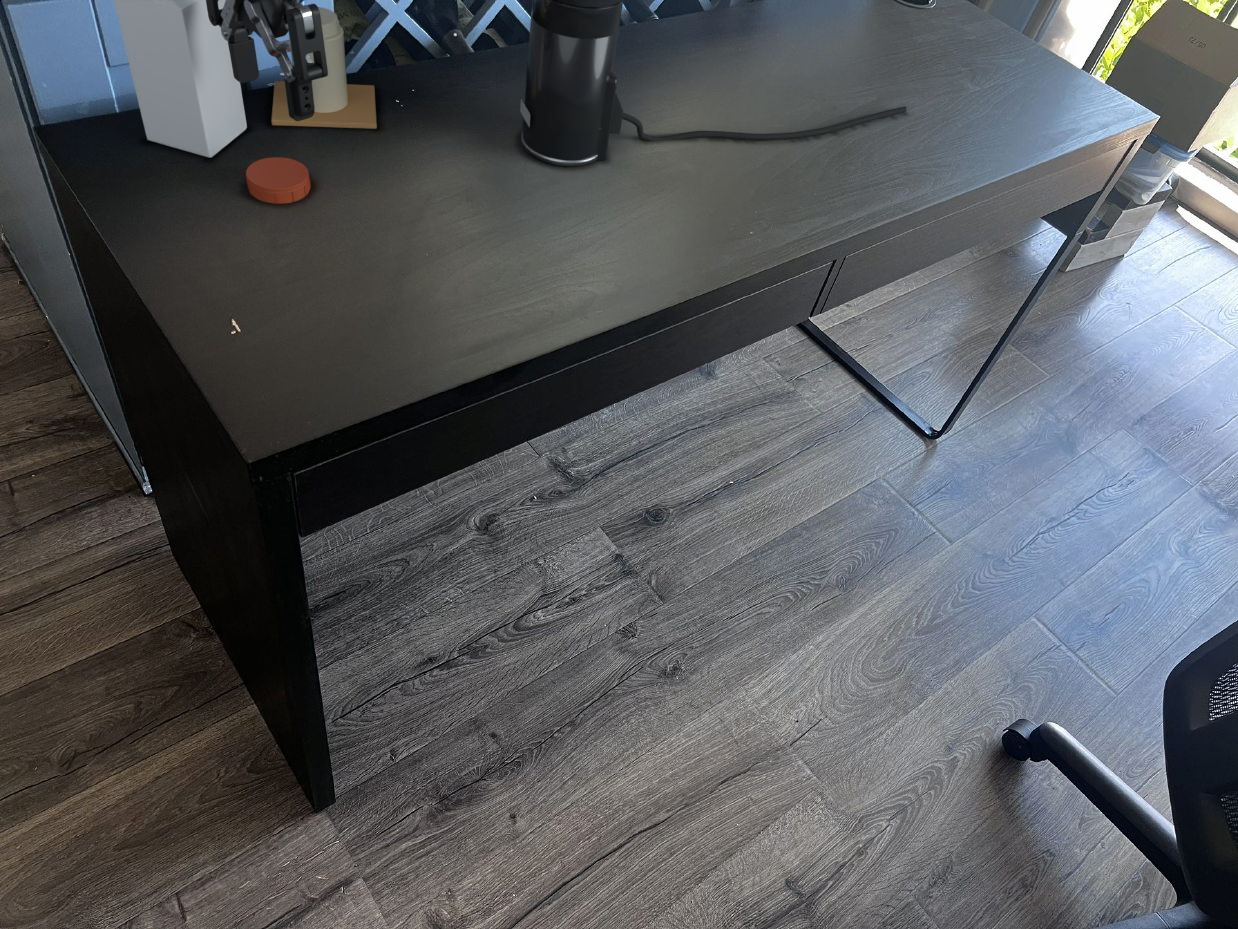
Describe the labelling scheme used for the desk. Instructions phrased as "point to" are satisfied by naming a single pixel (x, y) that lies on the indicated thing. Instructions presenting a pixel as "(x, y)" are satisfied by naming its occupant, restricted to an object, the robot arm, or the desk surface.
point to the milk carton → (182, 74)
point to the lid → (278, 180)
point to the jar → (331, 67)
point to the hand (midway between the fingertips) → (274, 98)
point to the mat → (352, 116)
